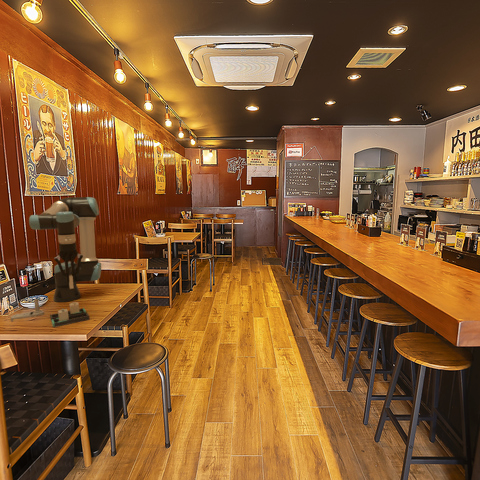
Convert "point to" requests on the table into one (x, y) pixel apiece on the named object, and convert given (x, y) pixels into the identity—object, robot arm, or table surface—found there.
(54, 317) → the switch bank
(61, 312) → the beige handled cube
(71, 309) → the beige rectangular block
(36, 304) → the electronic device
